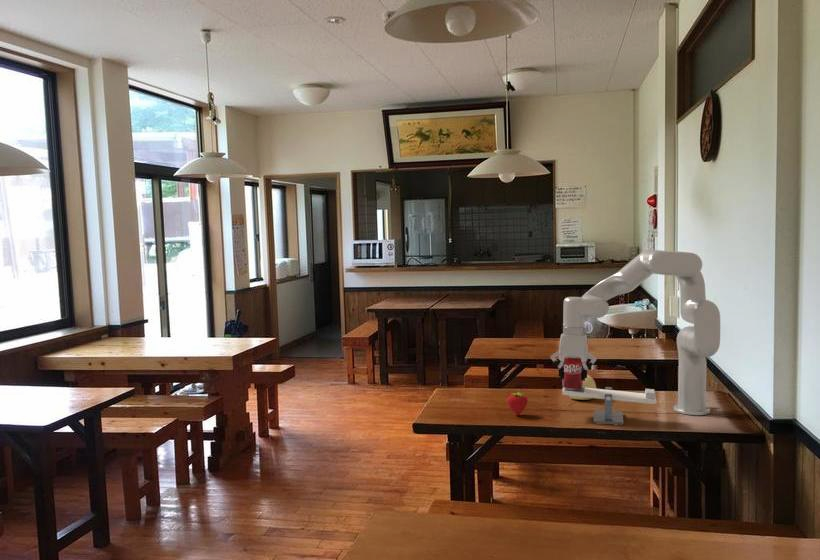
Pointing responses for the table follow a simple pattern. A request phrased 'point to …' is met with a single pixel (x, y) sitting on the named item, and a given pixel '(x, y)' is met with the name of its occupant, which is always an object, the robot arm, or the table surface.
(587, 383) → the sculpture
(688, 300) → the robot arm
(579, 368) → the soda can
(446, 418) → the table surface
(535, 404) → the table surface
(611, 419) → the fulcrum stand
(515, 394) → the strawberry
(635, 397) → the beam
